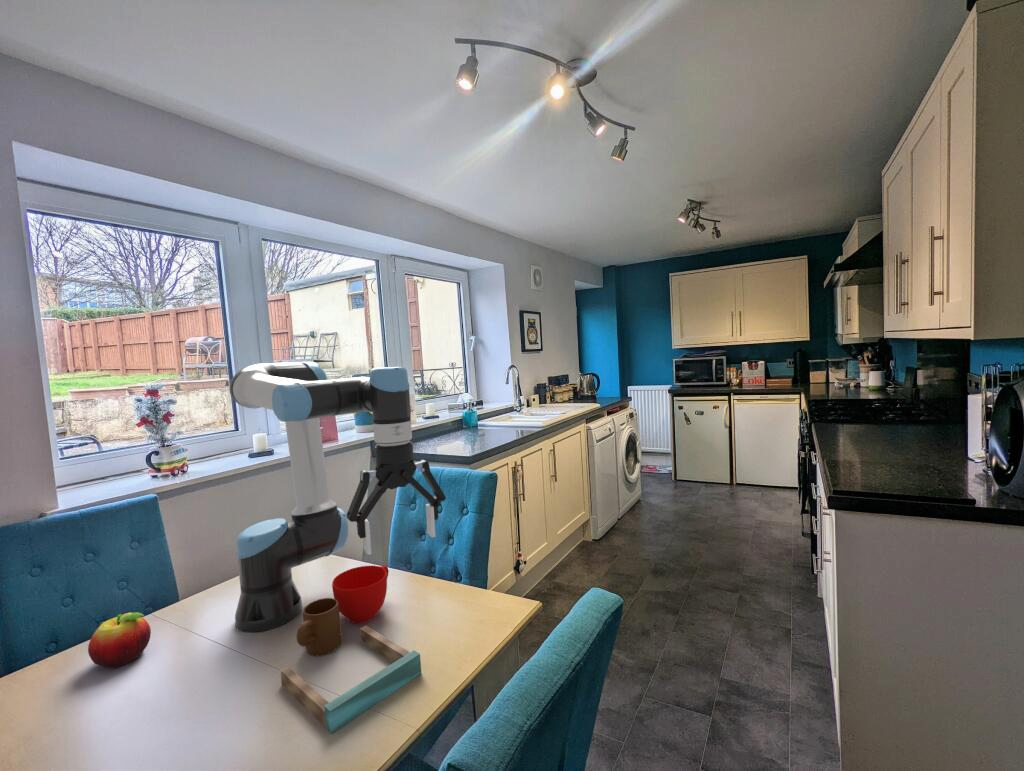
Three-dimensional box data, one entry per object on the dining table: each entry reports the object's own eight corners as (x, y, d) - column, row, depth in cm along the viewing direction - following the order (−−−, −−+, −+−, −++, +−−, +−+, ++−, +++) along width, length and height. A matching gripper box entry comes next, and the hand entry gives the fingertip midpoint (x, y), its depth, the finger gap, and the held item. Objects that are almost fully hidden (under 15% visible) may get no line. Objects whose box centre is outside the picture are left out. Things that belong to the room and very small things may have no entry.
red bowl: (409, 598, 124) (406, 562, 123) (366, 635, 108) (363, 593, 108) (369, 592, 129) (366, 556, 128) (323, 626, 113) (320, 586, 113)
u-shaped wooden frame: (281, 684, 93) (280, 665, 93) (366, 638, 107) (365, 621, 107) (331, 733, 80) (329, 711, 79) (421, 672, 94) (419, 653, 94)
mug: (318, 672, 96) (314, 628, 95) (285, 670, 97) (281, 626, 97) (348, 637, 108) (345, 597, 107) (318, 636, 109) (315, 596, 109)
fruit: (114, 647, 110) (109, 606, 109) (164, 642, 111) (159, 601, 110) (76, 678, 99) (71, 632, 98) (131, 672, 100) (126, 626, 99)
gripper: (333, 454, 86) (342, 567, 87) (456, 436, 99) (462, 533, 101) (325, 448, 92) (334, 553, 94) (442, 432, 105) (448, 524, 107)
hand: (400, 543), depth 97 cm, fingers open, 13 cm apart
